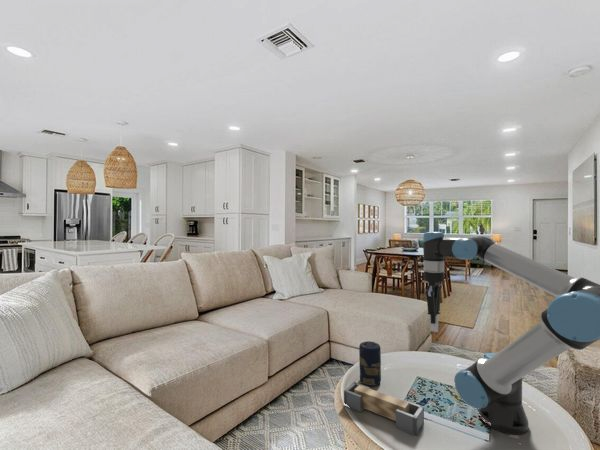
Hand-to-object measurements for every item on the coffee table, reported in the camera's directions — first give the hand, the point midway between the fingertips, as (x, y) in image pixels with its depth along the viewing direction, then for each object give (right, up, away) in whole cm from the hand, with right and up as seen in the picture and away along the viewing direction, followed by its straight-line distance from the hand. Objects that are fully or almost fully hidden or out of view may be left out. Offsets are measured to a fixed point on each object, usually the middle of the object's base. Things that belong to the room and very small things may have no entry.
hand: (434, 330), depth 121 cm
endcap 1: (-30, -30, +1) cm, 42 cm away
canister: (-21, -30, +18) cm, 41 cm away
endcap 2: (-14, -30, -12) cm, 35 cm away
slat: (-22, -29, -5) cm, 37 cm away
